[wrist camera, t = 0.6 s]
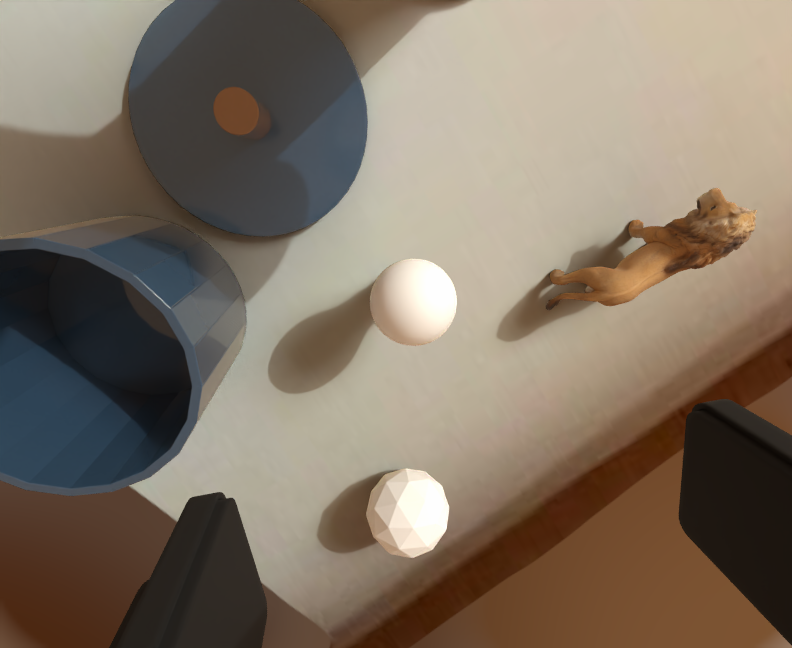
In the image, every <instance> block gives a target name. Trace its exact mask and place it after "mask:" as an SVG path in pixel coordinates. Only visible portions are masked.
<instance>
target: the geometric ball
mask: <svg viewBox="0 0 792 648" xmlns="http://www.w3.org/2000/svg"><path fill="white" fill-rule="evenodd" d="M448 513H449V505H448V502H447V499H446V496H445V493H444V490H443V487H442V485H440V484H439V483H438V482H437V481H436V480H434V479H433V478H432V477H431V476H430V475H429V474H427V473H426V472H425V471H419V470H412V469H401V470H398V471H394V472H391V473H388V474H384V476H383V477H382V478H381V479H380V481H379V482H378V483H377V485H376V486H375V487H374V488H373V490H372V491H371V494H370V498H369V503H368V507H367V511H366V517H367V520H368V523H369V526H370V529H371V532H372V535H373V537H374V538H375V539H376V540H377V541H378V542H379V543H380V544H381V545H382V546H383V547H384V548H385V549H386V550H387V552H388V553H389V554H394V555H399V556H405V557H410V558H414V557H416V556H419V555H421V554H423V553H426V552H428V551H431V550H433V548H434V547H435V546H436V544H437V543H438V541H439V540H440V538H441V537H442V535H443V534H444V533H445V531H446V529H447V521H448Z"/></svg>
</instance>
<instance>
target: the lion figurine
mask: <svg viewBox="0 0 792 648" xmlns="http://www.w3.org/2000/svg"><path fill="white" fill-rule="evenodd" d="M697 208H698V209H695V210H692V211H690V212H689V213H688V215H687V216H686V217H685V218H680V219H675V220H673V221H672V222H670V223H668V224H667V225H666V226H664V227H660V226H650V227H645V228H643V222H641V221H639V220H633V221H631V223H630V225H629V229H628V230H629V233H630V235H631V237H635V238H643V239H644V241H645V242H646V243H647V244H646V245H645V246H643V247H641V248H639V249H638V250H636V251H634V252H633V253H631V254H630V255H628V256H627V257H626V258H624V259H623V260H622V261H621V262H620V263H619V264H618V266H617V267H616V268H614V269H611V268H606V267H590V268H583V269H580V270H577V271H574V272H572V273H569V274H566V275H564V272H563V271H561V270H557V269H555V270H553V271H552V272H551V273H550V280H551V281H552V283H553V284H556V285H565V284H568V283H574V282H580V283H584V284H586V285H587V287H586V290H585V293H563V294H559V295H558V296H556V297H555V298H553V299H551V300H549V301H548V303H547V305H546V309H547V310H551V309H552V308H553V307H554V306H555V305H557V304H558V303H559V302H560V301H561V300H562V299H577V300H584V301H598V302H599V303H601V304H603V305H606V306H614V305H618V304H622V303H626V302H629V301H631V300H633V299H634V298H635V297H637V296H638V295H639V294H640V293H642V292H643V291H644V290H646V289H648V288H650V287H652V286H653V285H655V284H657V283H659V282H661V281H663V280H665V279H667V278H668V277H670V276H672V275H674V274H676V273H678V272H680V271H683V270H687V269H690V268H692V269H697V268H703V267H705V266H706V265H708V264H713V263H714V262H715V261H717V260H719V259H720V258H722V257H726V256H727V255H728V254H729V253H730V252H732V251H733V249H735V250H737V249H738V248H740V246H741V245H742V244H743V243H744V242H746V241H747V240H748V239H749V238H750V235H751V233H752V231H753V230H754V228H755V219H756V217H755V214H756V213H757V210H754V211H752V210H749V209H747V208H744V207H738V206H736V204H735V203H732V202H728V201H726V200H725V198H724V196H723V194H722V192H721V190H720V189H718V188H714V189H711V190H709V192H707V193H704V194H703V195H702V196H701V197H699V198H698V199H697Z"/></svg>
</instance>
